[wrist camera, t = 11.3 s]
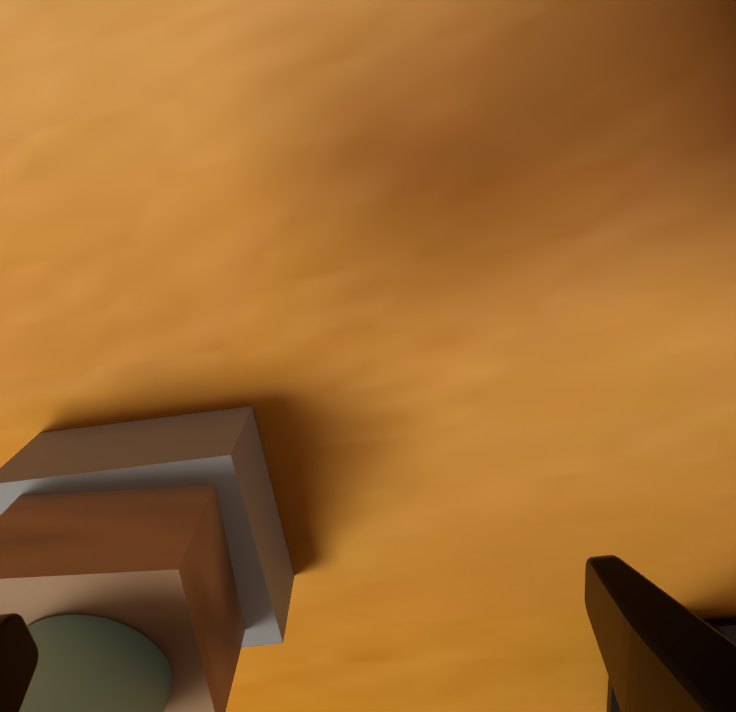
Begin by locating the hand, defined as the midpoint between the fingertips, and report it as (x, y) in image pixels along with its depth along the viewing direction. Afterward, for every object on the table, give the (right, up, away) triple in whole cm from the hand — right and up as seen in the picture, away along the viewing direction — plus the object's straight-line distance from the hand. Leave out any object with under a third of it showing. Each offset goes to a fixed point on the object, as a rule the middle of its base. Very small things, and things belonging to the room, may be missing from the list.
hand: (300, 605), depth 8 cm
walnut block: (-8, -4, +12) cm, 15 cm away
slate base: (-8, -3, +16) cm, 17 cm away
